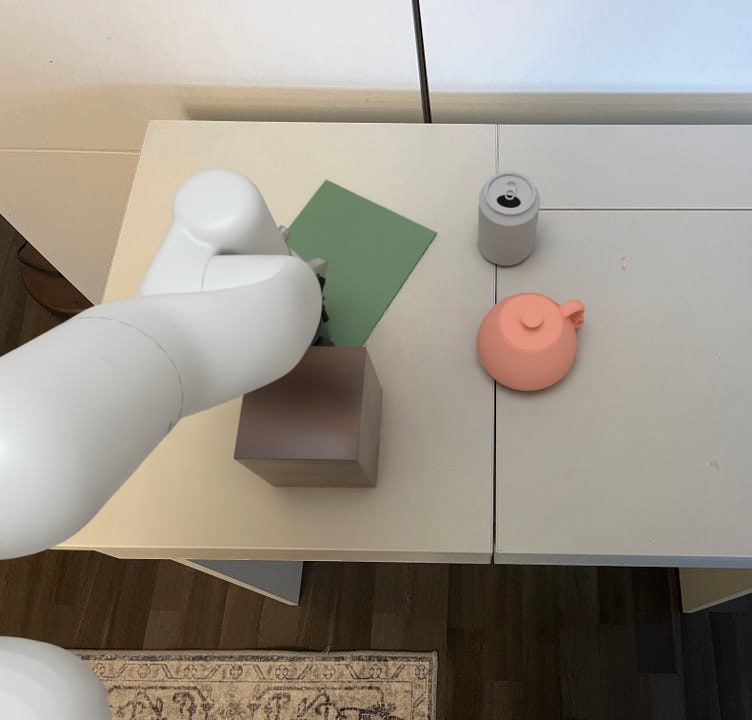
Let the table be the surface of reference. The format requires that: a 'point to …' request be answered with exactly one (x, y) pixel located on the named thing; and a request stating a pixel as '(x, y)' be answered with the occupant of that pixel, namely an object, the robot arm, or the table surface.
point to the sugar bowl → (529, 340)
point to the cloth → (357, 257)
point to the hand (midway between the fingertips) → (300, 340)
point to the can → (507, 218)
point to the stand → (315, 422)
